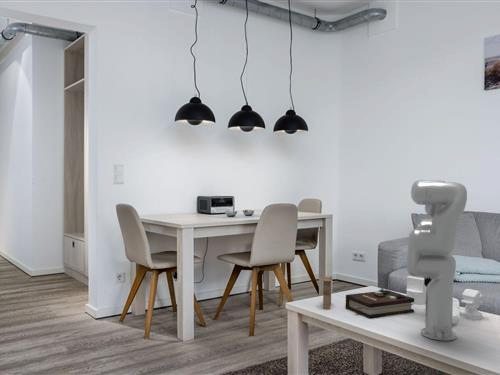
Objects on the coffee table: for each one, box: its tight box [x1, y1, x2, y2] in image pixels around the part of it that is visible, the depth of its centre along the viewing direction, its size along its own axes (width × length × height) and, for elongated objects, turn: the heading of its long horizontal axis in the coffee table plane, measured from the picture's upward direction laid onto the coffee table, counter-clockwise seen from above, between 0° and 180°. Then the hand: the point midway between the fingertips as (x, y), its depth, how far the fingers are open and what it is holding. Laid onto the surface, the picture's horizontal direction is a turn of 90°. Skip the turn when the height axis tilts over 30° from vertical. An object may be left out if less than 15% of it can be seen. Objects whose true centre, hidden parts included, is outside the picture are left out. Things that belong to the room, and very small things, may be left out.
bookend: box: [322, 275, 333, 310], centre depth 208 cm, size 11×3×13 cm, turn 166°
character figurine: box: [459, 288, 484, 321], centre depth 193 cm, size 9×10×12 cm
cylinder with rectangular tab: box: [406, 275, 426, 306], centre depth 218 cm, size 9×9×12 cm
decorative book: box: [345, 288, 415, 320], centre depth 202 cm, size 19×8×30 cm
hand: (427, 287), depth 198 cm, fingers closed
